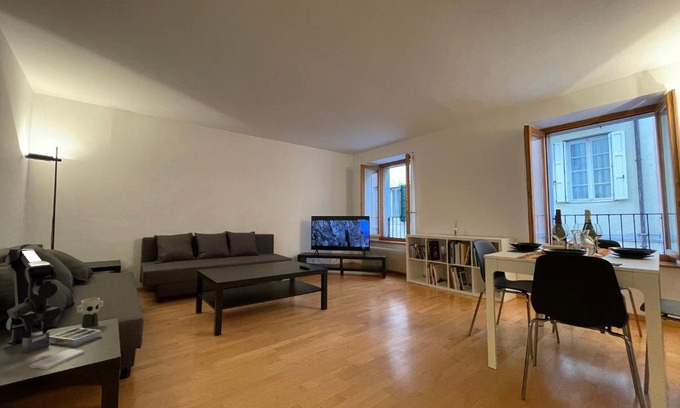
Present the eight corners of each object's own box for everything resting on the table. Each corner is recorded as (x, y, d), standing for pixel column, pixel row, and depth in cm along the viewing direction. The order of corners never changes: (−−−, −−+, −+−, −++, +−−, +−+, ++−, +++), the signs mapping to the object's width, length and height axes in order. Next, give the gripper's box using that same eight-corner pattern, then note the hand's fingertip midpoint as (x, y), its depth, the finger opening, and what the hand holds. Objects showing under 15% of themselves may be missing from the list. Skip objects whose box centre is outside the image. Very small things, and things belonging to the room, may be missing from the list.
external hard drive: (84, 354, 112) (46, 371, 100) (68, 352, 114) (29, 368, 101) (84, 350, 112) (46, 366, 100) (68, 348, 114) (29, 364, 102)
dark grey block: (21, 352, 113) (22, 337, 113) (43, 345, 119) (44, 331, 120) (27, 353, 112) (28, 338, 112) (49, 345, 119) (49, 331, 119)
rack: (47, 343, 121) (48, 336, 121) (76, 333, 131) (76, 327, 132) (73, 347, 117) (74, 340, 117) (101, 336, 128) (101, 330, 128)
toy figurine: (79, 330, 134) (81, 303, 135) (72, 328, 137) (73, 301, 138) (106, 323, 144) (107, 297, 145) (98, 321, 147) (99, 296, 148)
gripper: (-5, 298, 111) (-7, 338, 110) (28, 301, 107) (26, 342, 106) (32, 291, 122) (30, 327, 121) (63, 293, 118) (61, 331, 117)
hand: (36, 332), depth 116 cm, fingers open, 9 cm apart
